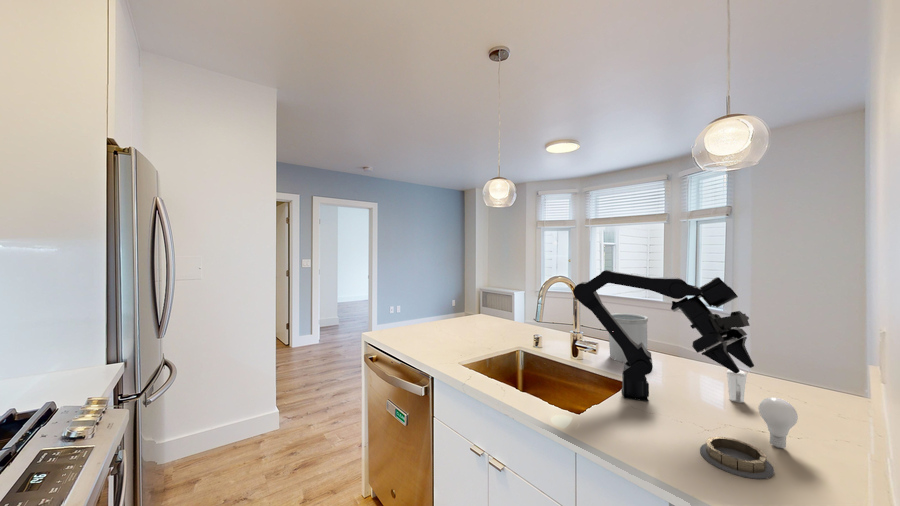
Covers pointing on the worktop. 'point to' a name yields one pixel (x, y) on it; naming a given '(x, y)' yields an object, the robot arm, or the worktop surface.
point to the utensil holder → (629, 333)
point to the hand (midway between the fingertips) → (745, 369)
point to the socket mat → (738, 455)
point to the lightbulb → (778, 419)
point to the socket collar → (733, 463)
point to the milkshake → (736, 385)
